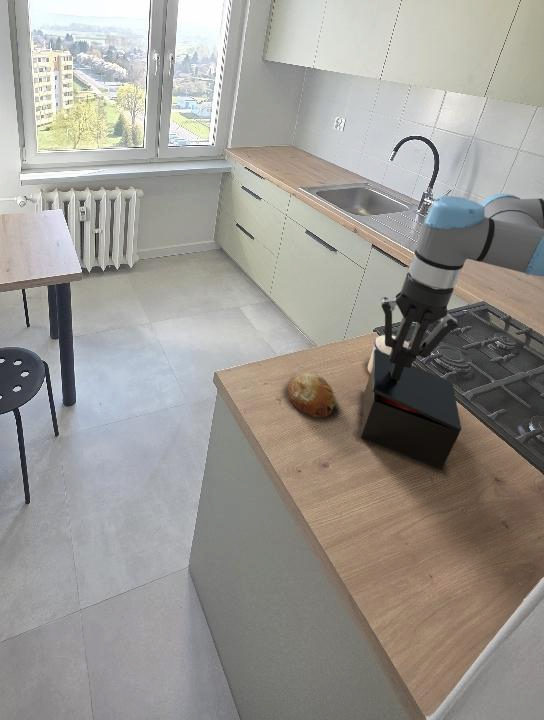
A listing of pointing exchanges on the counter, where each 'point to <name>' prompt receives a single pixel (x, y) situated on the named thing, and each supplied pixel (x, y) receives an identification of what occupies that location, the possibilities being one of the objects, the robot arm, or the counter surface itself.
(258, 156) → the counter surface
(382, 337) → the teacup with lid
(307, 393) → the bread roll
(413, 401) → the bin lid
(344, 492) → the counter surface
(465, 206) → the robot arm
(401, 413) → the black open box
